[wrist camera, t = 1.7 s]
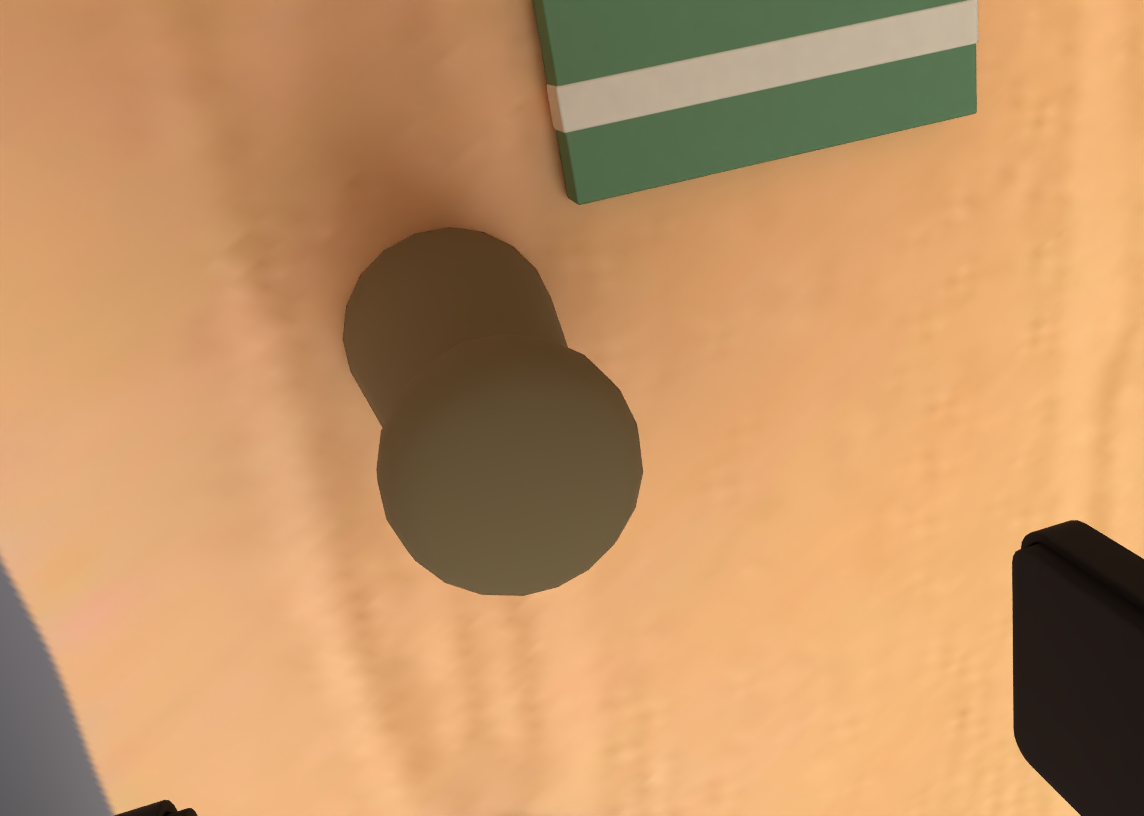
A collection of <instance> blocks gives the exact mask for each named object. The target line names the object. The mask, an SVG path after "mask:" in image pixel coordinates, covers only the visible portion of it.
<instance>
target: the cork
mask: <svg viewBox="0 0 1144 816" xmlns="http://www.w3.org/2000/svg"><path fill="white" fill-rule="evenodd" d="M343 342H344V346H345V350H346V355H347V359H348V363H349V367H350V371H351V373H352V375H353V376H354V378H355V380H356V382H357V383H358V385H359V387H360V389H361V390H362V392H363V394H364V396H365V397H366V399H367V401H368V403H369V405H370V406H371V408H372V410H373V412H374V413H375V415H376V417H377V419H378V420H379V422H380V424H381V426H382V427H383V428H382V430H381V436H380V444H379V453H378V461H377V480H378V485H379V490H380V494H381V498H382V502H383V507H384V511H385V515H386V519H387V521H388V522H389V524H390V525H391V527H392V528H393V530H394V531H395V533H396V534H397V536H398V537H399V539H400V540H401V542H402V543H403V545H404V546H405V548H406V549H407V551H408V552H409V553H410V555H411V556H412V557H413V558H414V560H415V561H416V562H418V563H419V564H420V565H422V566H423V567H425V568H426V569H427V570H429V571H430V572H431V573H433V574H434V575H435V576H437V577H438V578H439V579H441V580H442V581H443V582H445V583H447V584H450V585H454V586H457V587H460V588H463V589H466V590H469V591H472V592H475V593H478V594H482V595H514V596H524V595H528V594H532V593H536V592H540V591H544V590H548V589H552V588H556V587H559V586H560V585H562V584H564V583H566V582H568V581H569V580H571V579H573V578H575V577H576V576H578V575H580V574H582V573H584V572H585V571H587V570H589V569H590V568H591V567H592V566H593V565H594V564H595V563H596V562H597V561H598V560H599V559H600V558H601V557H602V556H603V555H604V554H605V553H606V552H607V551H608V550H609V549H610V548H611V547H612V546H613V545H614V544H615V542H616V541H617V540H618V538H619V536H620V534H621V532H622V531H623V529H624V527H625V525H626V524H627V522H628V520H629V518H630V516H631V515H632V513H633V511H634V509H635V507H636V503H637V498H638V493H639V489H640V484H641V479H642V475H643V467H642V459H641V450H640V442H639V434H638V428H637V423H636V421H635V419H634V417H633V415H632V413H631V411H630V409H629V407H628V405H627V403H626V401H625V399H624V397H623V395H622V393H621V391H620V390H619V389H618V387H617V386H616V385H615V384H614V383H613V382H612V381H611V380H610V379H609V378H608V377H607V376H606V375H605V374H604V373H603V372H602V371H601V370H600V369H598V368H597V367H596V366H595V365H594V364H593V363H592V362H591V361H590V360H589V359H588V358H587V357H586V356H585V355H583V354H581V353H579V352H577V351H574V350H572V349H570V348H568V346H567V343H566V340H565V338H564V335H563V332H562V329H561V326H560V323H559V320H558V317H557V314H556V311H555V308H554V305H553V302H552V300H551V297H550V295H549V293H548V291H547V289H546V287H545V285H544V283H543V281H542V279H541V277H540V275H539V273H538V271H537V270H536V269H535V268H534V267H533V266H532V265H531V264H530V263H529V262H528V261H527V260H526V259H525V258H524V257H523V256H522V255H521V254H520V253H519V252H518V251H517V250H516V249H515V248H514V247H513V246H511V245H509V244H507V243H504V242H502V241H500V240H498V239H496V238H494V237H492V236H490V235H488V234H486V233H484V232H478V231H471V230H463V229H456V228H444V229H439V230H434V231H428V232H423V233H417V234H414V235H412V236H410V237H408V238H406V239H405V240H403V241H401V242H399V243H397V244H395V245H393V246H392V247H390V248H388V249H386V250H384V251H383V252H382V253H381V254H380V255H379V257H378V258H377V259H376V260H375V261H374V262H373V263H372V264H371V265H370V266H369V267H368V268H367V269H366V270H365V271H364V272H363V273H362V274H361V276H360V278H359V280H358V282H357V284H356V286H355V288H354V291H353V293H352V295H351V297H350V299H349V301H348V304H347V306H346V314H345V323H344V333H343Z"/></svg>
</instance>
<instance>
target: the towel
mask: <svg viewBox="0 0 1144 816" xmlns="http://www.w3.org/2000/svg"><path fill="white" fill-rule="evenodd" d="M533 5H534V11H535V16H536V22H537V28H538V33H539V39H540V44H541V50H542V56H543V61H544V67H545V72H546V78H547V84H548V85H547V87H546V88H547V93H548V99H549V105H550V110H551V116H552V121H553V127H554V129H556V134H557V140H558V145H559V151H560V156H561V162H562V167H563V173H564V179H565V184H566V190H567V195H568V198H569V199H570V200H572V201H574V202H575V203H577V204H579V205H581V204H585V203H590V202H594V201H598V200H603V199H607V198H611V197H616V196H620V195H624V194H629V193H633V192H637V191H642V190H646V189H650V188H655V187H659V186H663V185H668V184H672V183H676V182H681V181H685V180H689V179H694V178H698V177H702V176H707V175H711V174H715V173H720V172H724V171H728V170H733V169H737V168H741V167H746V166H750V165H754V164H759V163H763V162H767V161H772V160H776V159H780V158H785V157H789V156H793V155H798V154H802V153H806V152H811V151H815V150H819V149H824V148H828V147H832V146H837V145H841V144H845V143H850V142H854V141H858V140H863V139H867V138H871V137H876V136H880V135H884V134H889V133H893V132H897V131H902V130H906V129H910V128H915V127H919V126H923V125H928V124H932V123H936V122H941V121H945V120H949V119H954V118H958V117H962V116H967V115H971V114H975V113H976V112H977V95H976V43H977V42H978V0H533Z"/></svg>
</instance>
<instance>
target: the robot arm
mask: <svg viewBox="0 0 1144 816" xmlns="http://www.w3.org/2000/svg"><path fill="white" fill-rule="evenodd" d="M1012 590H1013V711H1014V736H1015V739H1016V742H1017V745H1018V747H1019V749H1020V751H1021V753H1022V755H1023V756H1024V758H1025V759H1026V760H1027V762H1028V763H1029V764H1030V765H1031V766H1032V767H1033V768H1034V769H1035V770H1036V771H1037V772H1038V773H1039V774H1040V775H1041V776H1042V777H1043V778H1044V779H1045V780H1046V781H1047V782H1048V783H1049V784H1050V785H1051V786H1052V787H1053V788H1054V789H1055V790H1056V791H1057V792H1058V793H1059V794H1060V795H1061V796H1062V797H1063V798H1064V799H1065V800H1066V801H1067V802H1068V803H1069V804H1070V805H1071V806H1072V807H1073V808H1074V809H1075V810H1076V811H1077V812H1078V813H1079V814H1080V815H1081V816H1144V559H1143V558H1141V557H1139V556H1138V555H1136V554H1134V553H1133V552H1131V551H1130V550H1128V549H1126V548H1125V547H1123V546H1121V545H1120V544H1118V543H1116V542H1115V541H1113V540H1112V539H1110V538H1108V537H1107V536H1105V535H1103V534H1102V533H1100V532H1099V531H1097V530H1095V529H1094V528H1092V527H1090V526H1089V525H1087V524H1085V523H1083V522H1080V521H1078V520H1070V521H1067V522H1064V523H1061V524H1057V525H1054V526H1051V527H1048V528H1044V529H1041V530H1038V531H1035V532H1032V533H1029V534H1028V535H1026V536H1025V537H1024V539H1023V541H1022V545H1021V549H1020V550H1018V551H1016V552H1015V554H1014V556H1013V561H1012ZM115 816H197V814H196V812H195V811H194V810H193V809H192V808H187V809H184V810H181V811H177V809H176V808H175V806H174V804H172V803H171V802H170V801H169V800H163V801H160V802H157V803H153V804H150V805H147V806H144V807H140V808H137V809H134V810H131V811H127V812H124V813H121V814H118V815H115Z"/></svg>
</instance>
